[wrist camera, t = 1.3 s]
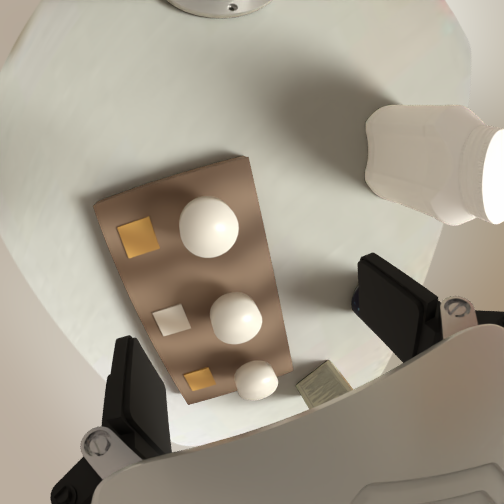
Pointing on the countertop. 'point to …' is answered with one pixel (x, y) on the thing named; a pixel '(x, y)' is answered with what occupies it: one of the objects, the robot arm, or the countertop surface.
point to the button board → (195, 276)
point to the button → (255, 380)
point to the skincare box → (323, 385)
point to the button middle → (235, 318)
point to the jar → (437, 162)
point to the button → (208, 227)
